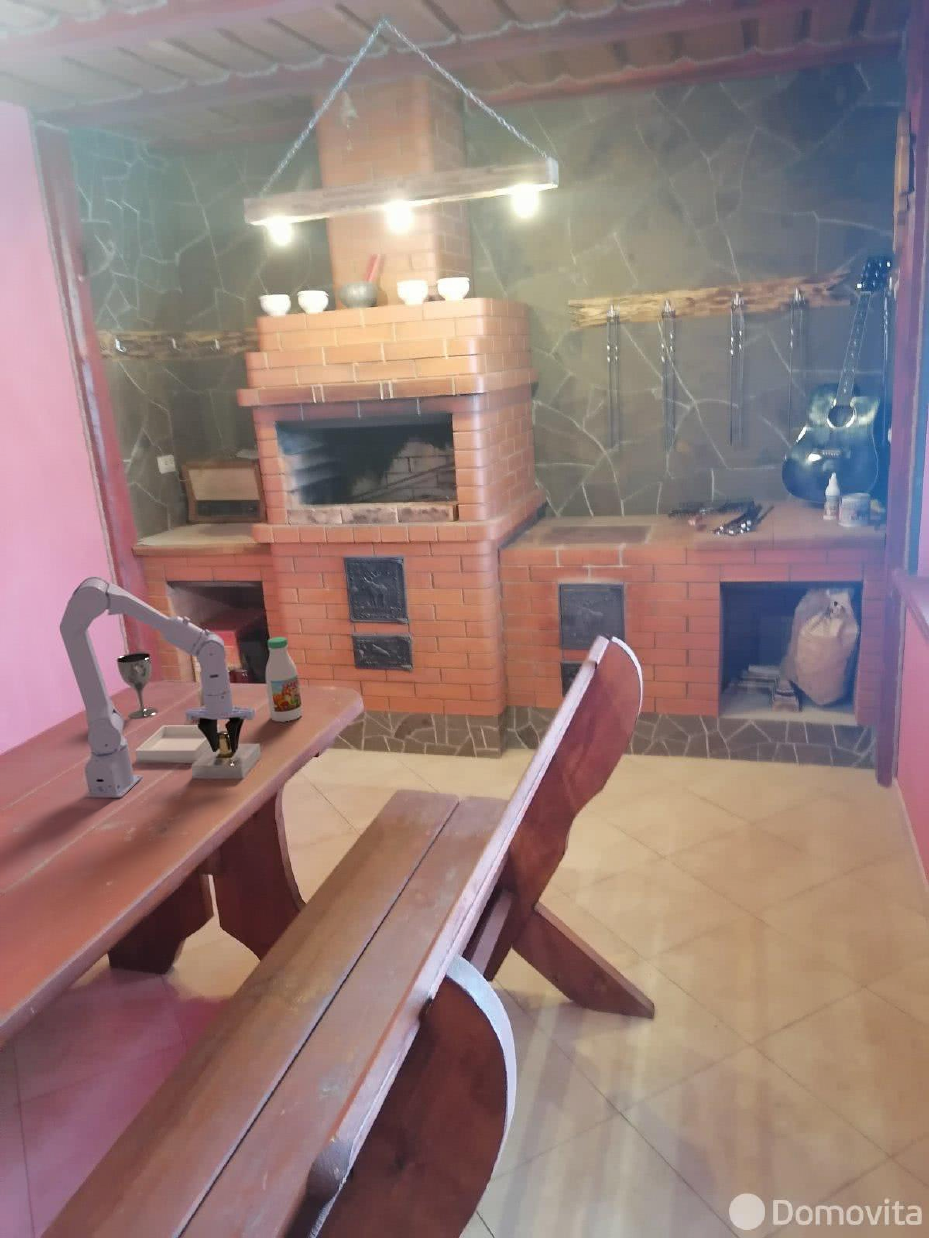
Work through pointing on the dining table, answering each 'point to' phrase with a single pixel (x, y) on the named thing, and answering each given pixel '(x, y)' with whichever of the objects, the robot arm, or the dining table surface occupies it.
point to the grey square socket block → (226, 763)
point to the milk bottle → (282, 682)
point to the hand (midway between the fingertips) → (225, 750)
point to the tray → (173, 745)
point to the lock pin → (224, 744)
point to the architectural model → (201, 698)
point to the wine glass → (137, 678)
